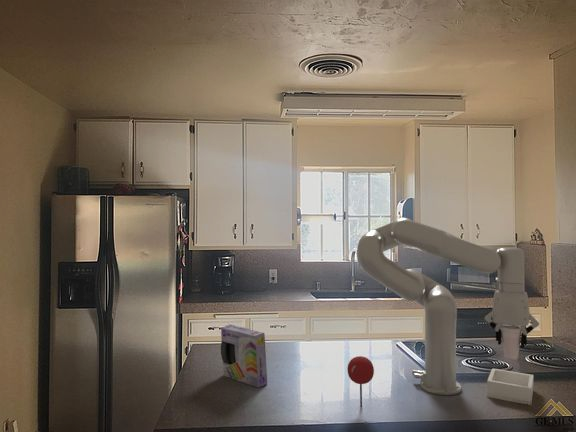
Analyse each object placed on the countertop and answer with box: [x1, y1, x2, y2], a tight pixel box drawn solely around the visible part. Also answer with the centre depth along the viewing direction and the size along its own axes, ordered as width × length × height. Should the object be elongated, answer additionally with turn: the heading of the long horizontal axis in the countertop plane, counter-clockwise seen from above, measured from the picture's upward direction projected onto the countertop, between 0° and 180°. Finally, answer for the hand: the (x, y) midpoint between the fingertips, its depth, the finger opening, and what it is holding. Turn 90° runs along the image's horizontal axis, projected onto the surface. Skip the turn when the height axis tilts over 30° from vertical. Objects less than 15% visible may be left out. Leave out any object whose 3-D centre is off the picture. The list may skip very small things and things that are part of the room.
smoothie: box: [500, 324, 522, 360], centre depth 141 cm, size 6×6×14 cm
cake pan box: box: [220, 324, 268, 388], centre depth 155 cm, size 19×5×18 cm, turn 47°
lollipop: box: [347, 355, 375, 408], centre depth 133 cm, size 8×8×15 cm
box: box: [486, 368, 535, 406], centre depth 142 cm, size 12×12×5 cm
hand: (511, 344), depth 141 cm, fingers closed on smoothie, 5 cm apart
